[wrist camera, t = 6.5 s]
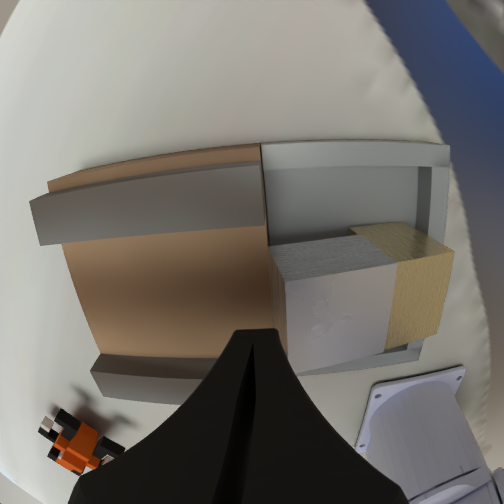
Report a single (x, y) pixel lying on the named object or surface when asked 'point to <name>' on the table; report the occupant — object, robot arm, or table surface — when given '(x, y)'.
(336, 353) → the grey block
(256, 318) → the slot block
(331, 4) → the table surface
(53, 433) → the toy
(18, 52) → the table surface
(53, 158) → the table surface
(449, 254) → the tan wooden block
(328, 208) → the tray
